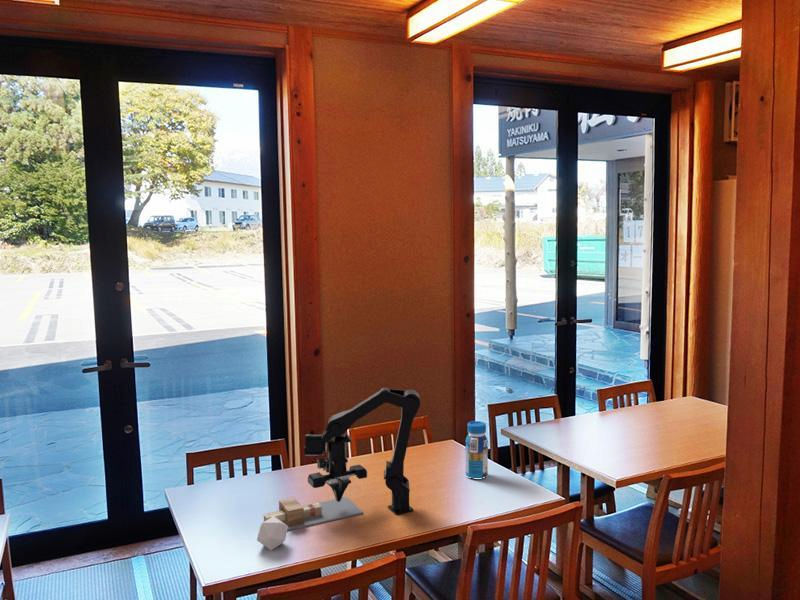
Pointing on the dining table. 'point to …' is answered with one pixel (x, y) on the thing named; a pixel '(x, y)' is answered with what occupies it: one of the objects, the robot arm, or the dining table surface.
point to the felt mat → (330, 512)
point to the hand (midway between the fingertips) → (338, 501)
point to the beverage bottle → (476, 450)
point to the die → (272, 533)
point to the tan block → (292, 511)
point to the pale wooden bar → (308, 512)
